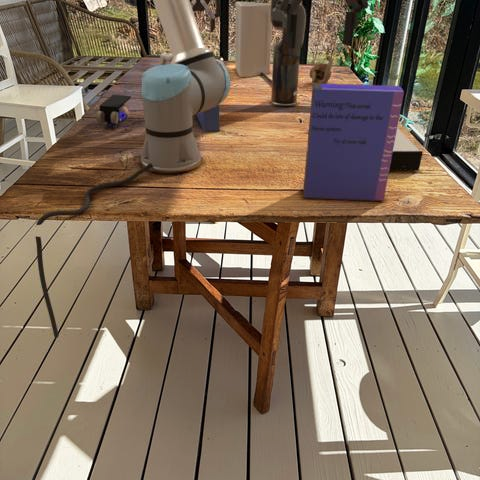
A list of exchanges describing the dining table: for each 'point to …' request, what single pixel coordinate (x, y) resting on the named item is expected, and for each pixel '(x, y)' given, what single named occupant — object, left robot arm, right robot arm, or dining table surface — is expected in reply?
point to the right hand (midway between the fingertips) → (198, 32)
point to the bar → (209, 119)
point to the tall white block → (253, 38)
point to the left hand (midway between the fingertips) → (319, 46)
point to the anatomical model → (321, 71)
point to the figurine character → (113, 110)
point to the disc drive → (405, 154)
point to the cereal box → (351, 141)
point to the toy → (168, 57)
